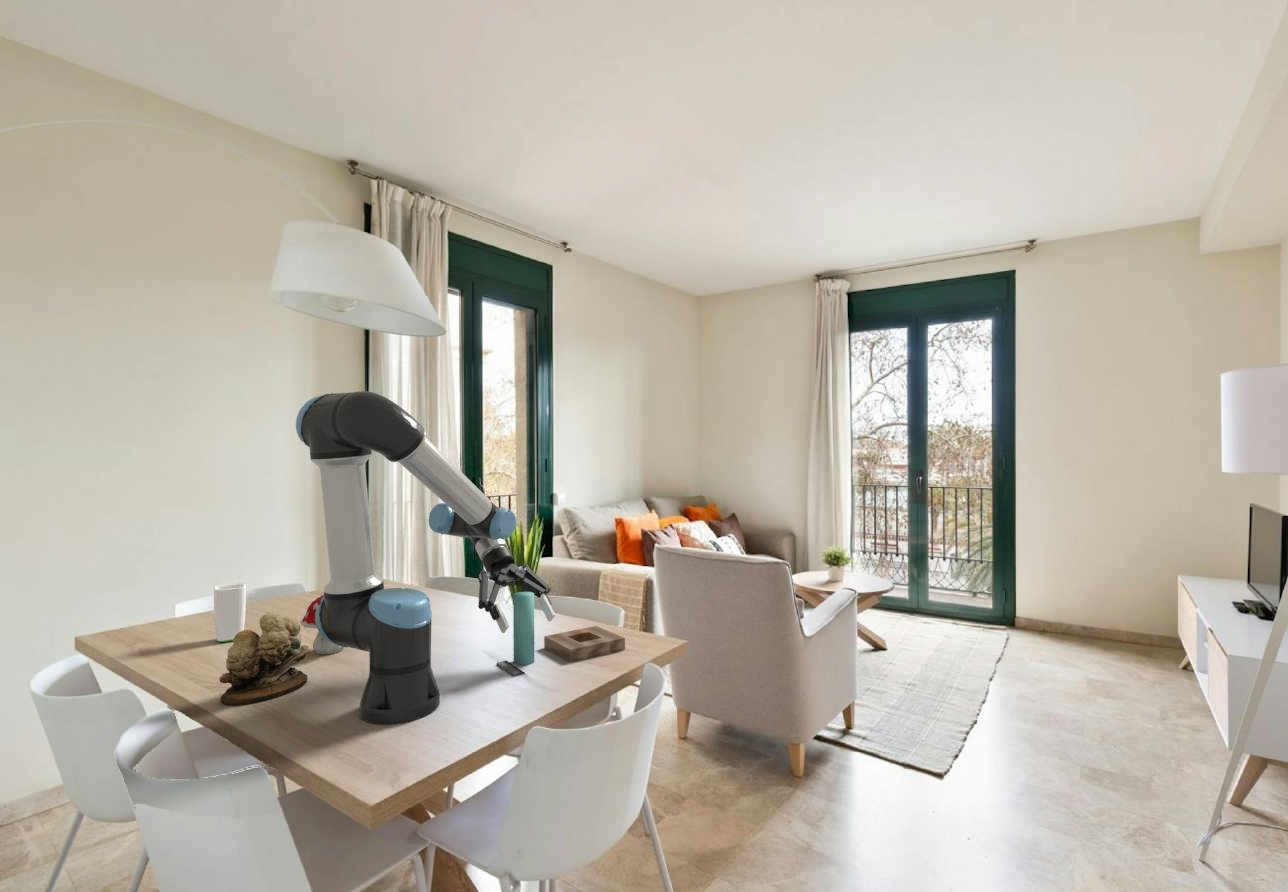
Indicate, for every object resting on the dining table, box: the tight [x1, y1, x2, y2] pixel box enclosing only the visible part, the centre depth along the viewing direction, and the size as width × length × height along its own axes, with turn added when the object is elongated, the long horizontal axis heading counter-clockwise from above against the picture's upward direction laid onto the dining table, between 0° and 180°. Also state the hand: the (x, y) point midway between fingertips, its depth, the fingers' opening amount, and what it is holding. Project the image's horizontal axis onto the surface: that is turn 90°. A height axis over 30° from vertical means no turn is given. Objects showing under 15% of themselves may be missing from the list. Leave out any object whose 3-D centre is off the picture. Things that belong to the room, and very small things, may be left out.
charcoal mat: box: [496, 660, 527, 677], centre depth 149 cm, size 10×10×1 cm
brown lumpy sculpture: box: [219, 612, 310, 707], centre depth 135 cm, size 18×12×17 cm, turn 150°
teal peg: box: [512, 591, 535, 667], centre depth 149 cm, size 5×5×17 cm
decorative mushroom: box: [299, 594, 345, 655], centre depth 162 cm, size 14×14×15 cm
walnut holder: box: [543, 625, 626, 663], centre depth 159 cm, size 16×14×4 cm
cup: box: [213, 583, 247, 643], centre depth 172 cm, size 7×7×15 cm
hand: (529, 624), depth 148 cm, fingers open, 13 cm apart
